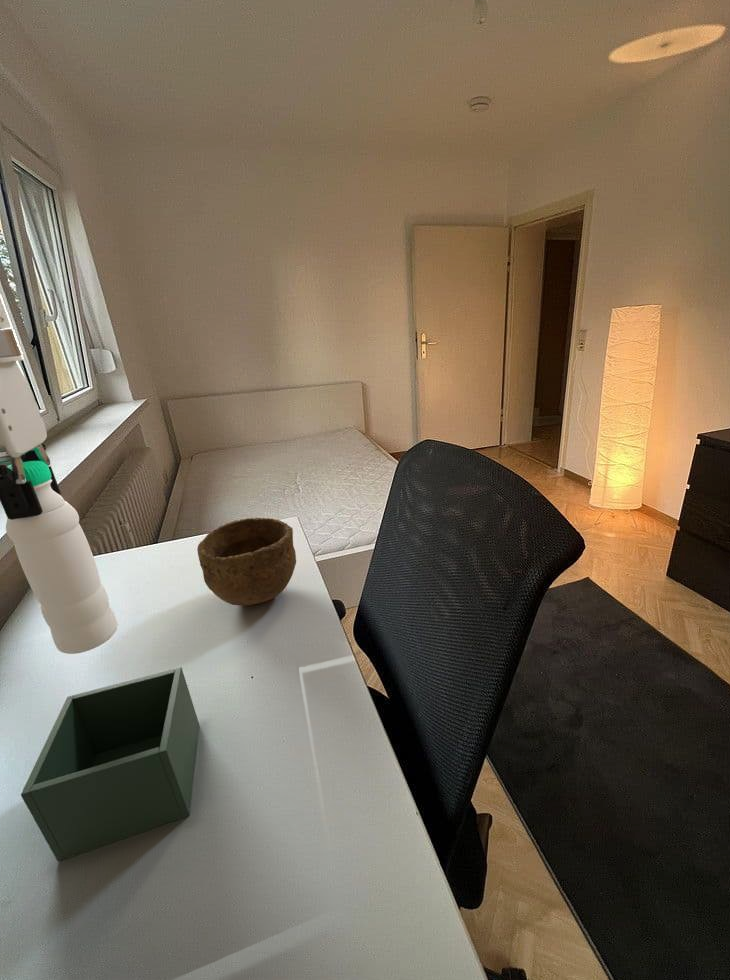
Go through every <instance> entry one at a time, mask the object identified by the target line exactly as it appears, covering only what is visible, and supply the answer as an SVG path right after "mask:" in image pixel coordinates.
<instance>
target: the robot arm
mask: <svg viewBox="0 0 730 980" xmlns="http://www.w3.org/2000/svg"><path fill="white" fill-rule="evenodd" d="M21 361H25V358H24V356H23V352H22V350H21V347H20V345H19V341H18V339H17V336H16V333H15V330H14V329H13V324H12V323H11V320H10V317H9V314H8V311H7V309H6V306H5V303H4V300H3V297H2V295H1V293H0V453H5V454H6V455H5V456H0V504H1V506H2V508H3V511H4V513H5V515H6V519H7V518H8V519H11V520H13V519H20V518H26V517H32V516H38V515H40V514H41V513H42V512H43V510H42V508H41V505H40V503H39V500H38V497H37V495H36V492H35V490H34V487H33V485H32V482H31V481H27V482H26V478H25V473H24V469H23V464H22V462H28V461H42V462H44V463H46V464H47V466H48V467H49V470H50V472H51V480H52V482H51V484H50V486H51V488H52V490H53V491H55V492H56V493H58V494H59V495H60V496H62V492H61V490H60V486H59V484H58V482H57V478H56V476H55V473H54V471H53V468H52V465H51V459H50V457H49V455H48V454H47V452H46V450H47V447H46V444H45V441H46V439H47V437H48V433H47V432H48V431H47V429H46V425H45V422H44V419H43V416H42V413H41V411H40V408H39V405H38V403H37V401H36V397H35V396H34V393H33V391H32V389H31V387H30V385H29V382H28V380H27V378H26V376H25V374H24V372H23V370H22V367H21V365H20V363H19V362H21ZM6 464H10V465H11V466H12V470H13V471H12V470H11V469H9V468H8V467H7V466H8V465H6Z"/></svg>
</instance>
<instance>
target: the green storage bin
mask: <svg viewBox="0 0 730 980" xmlns="http://www.w3.org/2000/svg"><path fill="white" fill-rule="evenodd" d="M199 734H200V723H199V720H198V716H197V712H196V709H195V706H194V702H193V699H192V696H191V694H190V690H189V686H188V684H187V681H186V677H185V674H184V670H183V668H182V667H181V666H180V667H177V668H172V669H168V670H165V671H161V672H158V673H153V674H149V675H146V676H141V677H137V678H134V679H130V680H127V681H122V682H119V683H115V684H112V685H107V686H103V687H99V688H95V689H92V690H87V691H83V692H79V693H76V694H72V695H69V696H67V697H66V699H65V701H64V703H63V705H62V707H61V710H60V711H59V713H58V715H57V718H56V720H55V722H54V724H53V725H52V729H51V731H50V732H49V734H48V736H47V739H46V740H45V743H44V745H43V747H42V749H41V752H40V753H39V756H38V758H37V759H36V762H35V764H34V766H33V768H32V770H31V771H30V774H29V777H28V779H27V781H26V783H25V784H24V786H23V789H22V791H21V793H20V796H21V798H22V800H23V802H24V804H25V806H26V807H27V809H28V811H29V813H30V815H31V817H32V818H33V820H34V821H35V823H36V825H37V828H38V829H39V830H40V833H41V835H42V836H43V838H44V840H45V841H46V843H47V844H48V847H49V848H50V850H51V852H52V854H53V856H54V857H55V860H56V861H57V862H61V861H63V860H66V859H69V858H73V857H75V856H78V855H80V854H83V853H86V852H89V851H93V850H95V849H99V848H101V847H104V846H107V845H109V844H112V843H115V842H118V841H120V840H123V839H126V838H130V837H133V836H135V835H138V834H141V833H145V832H146V831H150V830H152V829H155V828H158V827H160V826H164V825H167V824H169V823H172V822H175V821H178V820H181V819H183V818H186V817H189V816H190V815H191V806H192V799H193V798H192V797H193V788H194V779H195V770H196V761H197V753H198V752H197V751H198V745H199V744H198V743H199Z"/></svg>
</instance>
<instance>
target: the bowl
mask: <svg viewBox="0 0 730 980" xmlns="http://www.w3.org/2000/svg"><path fill="white" fill-rule="evenodd" d="M196 551H197V557H198V561H199V565H200V567H201V570H202V575H203V576H202V577H203V581H204V583H205V585H206V586H207V588H208V590H210V591H211V592H212V593H213V594H214V595H215V596H216V597H217V598H219V599H220V600H222V601H223V602H224V603H226V604H229V605H232V606H250V605H252V606H253V605H256V604H260V603H261V604H262V603H264V602H268V601H270V600H273V599H274V598H276V597H277V596H278V595H280V594H281V593H282V592H283V591H284V590H285V589H286V588H287V587H288V585H289V583H290V581H291V579H292V577H293V575H294V571H295V569H296V564H297V555H296V549H295V546H294V530H293V527H291V526H290V525H289V524H288V523H287V522H284V521H282V520H281V519H280V520H279V519H275V518H270V517H268V518H265V517H248V518H240V519H237V520H233V521H230V522H226V523H224V524H222V525H220V526H219V527H216V528H215V529H213V530H211V532H209V533H207V535H205V537H204V538H203V539H202V540H201V541H199V543H198V544H197V549H196Z"/></svg>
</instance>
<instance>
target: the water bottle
mask: <svg viewBox="0 0 730 980" xmlns="http://www.w3.org/2000/svg"><path fill="white" fill-rule="evenodd" d="M22 464H23V469H24V473H25V478H26V482H27V481H31V482H32V485H33V487H34V490H35V492H36V495H37V497H38V500H39V503H40V505H41V508H42V510H43V512H42V513H41V514H40V515H38V516H32V517H26V518H20V519H13V520H11V519H8V518H7V517H6V523H5V531H6V535H7V537H8V538H9V539H10V540H11V541H12V542H13V546H14V549H15V553H16V555H17V558H18V561H19V563H20V566H21V568H22V571H23V573H24V576H25V578H26V580H27V583H28V585H29V586H30V588H31V591H32V592H33V594H34V596H35V598H36V600H37V601H38V603H39V604H40V612H41V614H42V618H43V619H44V621H45V623H46V624H47V626H48V627H49V629H50V634H51V638H52V640H53V644H54V645H55V647H56V649H57V651H59V652H60V653H63V654H65V655H66V654H67V655H76V654H77V655H78V654H81V653H85V652H88V651H89V652H90V651H91V650H94V649H96V648H98V647H100V646H101V645H103V644H105V643H106V642H108V641H109V640H110V639H111V638H112V637H113V636H114V635H115V634H116V632H117V630H118V626H119V625H118V620H117V617H116V615H115V613H114V611H113V609H112V607H111V605H110V601H109V596H108V593H107V591H106V589H105V587H104V585H103V584H102V583H101V578H100V574H99V570H98V567H97V566H98V565H97V564H96V561H95V558H94V554H93V552H92V549H91V546H90V544H89V541H88V539H87V537H86V534H85V532H84V530H83V528H82V526H81V524H80V516H79V513H78V511H77V510H76V508H75V507H74V506H72V505H71V504H70V503H69V502H68V501H66V500H65V499H64V498H63V496H62V495H59V494H58V493H56V492H55V491H53V490H52V488H51V486H50V484H51V482H52V480H51V472H50V470H49V467H48V466H47V464H46V463H44V462H42V461H28V462H22ZM6 466H7V467H8V468H9V469H11V470H12V466H11V464H9V465H6ZM12 471H13V470H12Z"/></svg>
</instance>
